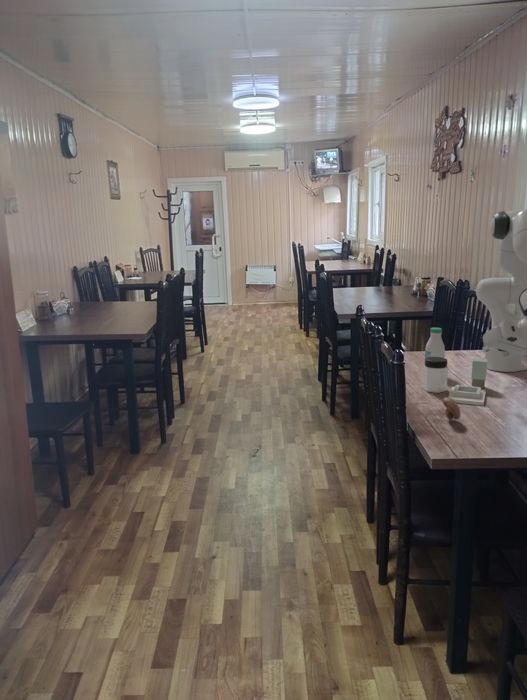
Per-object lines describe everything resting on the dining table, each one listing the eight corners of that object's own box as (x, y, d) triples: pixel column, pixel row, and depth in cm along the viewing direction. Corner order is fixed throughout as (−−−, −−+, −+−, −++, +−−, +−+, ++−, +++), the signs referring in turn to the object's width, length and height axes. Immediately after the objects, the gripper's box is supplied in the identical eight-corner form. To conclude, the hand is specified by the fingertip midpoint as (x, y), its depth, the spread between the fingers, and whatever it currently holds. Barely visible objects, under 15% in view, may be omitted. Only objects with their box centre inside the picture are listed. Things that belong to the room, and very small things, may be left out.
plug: (471, 385, 220) (473, 358, 217) (485, 386, 218) (487, 359, 215) (470, 388, 215) (472, 360, 213) (484, 390, 213) (486, 362, 211)
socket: (451, 389, 215) (452, 381, 214) (485, 392, 210) (486, 385, 210) (447, 401, 201) (447, 393, 200) (483, 405, 196) (484, 397, 195)
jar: (435, 394, 209) (436, 363, 207) (418, 389, 216) (419, 358, 213) (451, 390, 214) (452, 359, 212) (433, 385, 221) (435, 355, 218)
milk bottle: (444, 374, 236) (447, 327, 232) (442, 378, 229) (444, 330, 225) (425, 372, 239) (428, 326, 235) (422, 376, 233) (424, 329, 228)
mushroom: (441, 416, 186) (443, 393, 184) (461, 418, 184) (463, 395, 182) (438, 423, 179) (440, 399, 178) (459, 426, 177) (460, 402, 175)
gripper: (544, 332, 197) (514, 351, 208) (499, 319, 190) (470, 339, 201) (549, 348, 194) (518, 366, 205) (503, 335, 187) (474, 354, 198)
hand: (494, 352), depth 203 cm, fingers open, 8 cm apart
